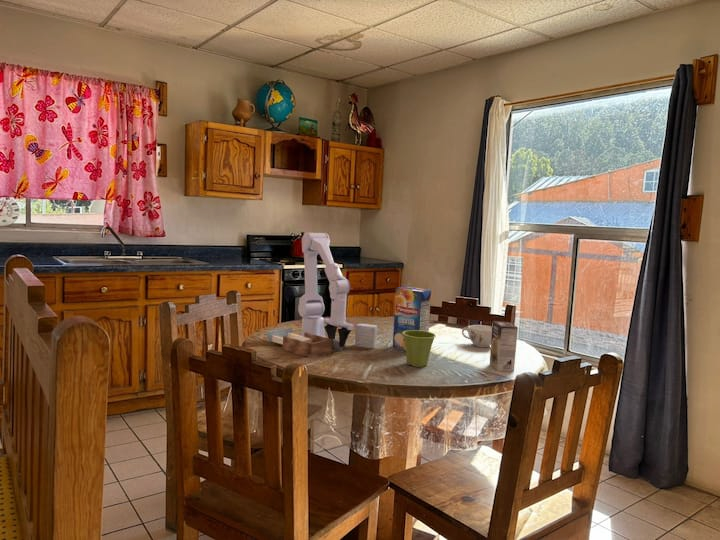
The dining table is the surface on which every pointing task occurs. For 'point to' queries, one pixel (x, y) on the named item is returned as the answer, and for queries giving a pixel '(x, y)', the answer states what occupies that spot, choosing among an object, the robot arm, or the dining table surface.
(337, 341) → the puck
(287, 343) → the shallow wooden crate
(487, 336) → the teacup
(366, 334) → the medicine box
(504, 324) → the coffee box
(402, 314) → the juice carton
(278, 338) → the tray
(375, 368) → the dining table surface
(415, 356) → the plant pot
